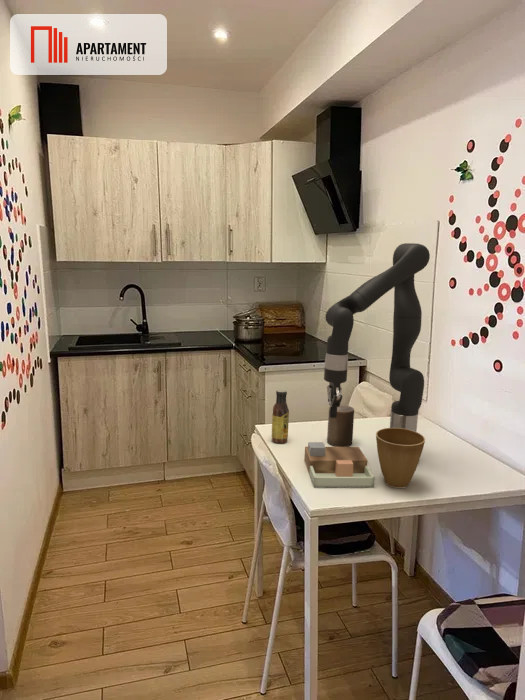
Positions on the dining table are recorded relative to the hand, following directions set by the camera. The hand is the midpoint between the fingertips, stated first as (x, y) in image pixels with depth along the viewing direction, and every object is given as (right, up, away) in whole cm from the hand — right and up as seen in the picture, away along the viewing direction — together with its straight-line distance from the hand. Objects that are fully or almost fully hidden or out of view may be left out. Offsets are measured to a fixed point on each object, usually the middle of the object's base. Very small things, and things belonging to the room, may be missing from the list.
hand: (332, 417), depth 173 cm
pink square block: (+3, -16, -6) cm, 17 cm away
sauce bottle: (-17, -12, +24) cm, 32 cm away
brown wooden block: (+1, -17, +2) cm, 17 cm away
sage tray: (+1, -19, -9) cm, 21 cm away
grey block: (-5, -12, 0) cm, 13 cm away
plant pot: (+19, -20, -9) cm, 29 cm away
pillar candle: (+6, -13, +25) cm, 29 cm away
